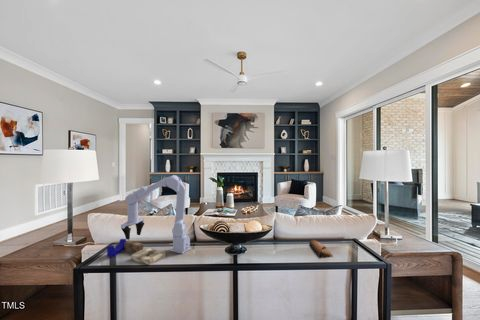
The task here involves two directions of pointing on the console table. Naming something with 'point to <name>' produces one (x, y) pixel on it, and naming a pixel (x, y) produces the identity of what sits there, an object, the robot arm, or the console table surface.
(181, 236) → the robot arm
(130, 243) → the walnut bar
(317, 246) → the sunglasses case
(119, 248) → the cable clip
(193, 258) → the console table surface
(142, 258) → the cutout board
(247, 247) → the console table surface
